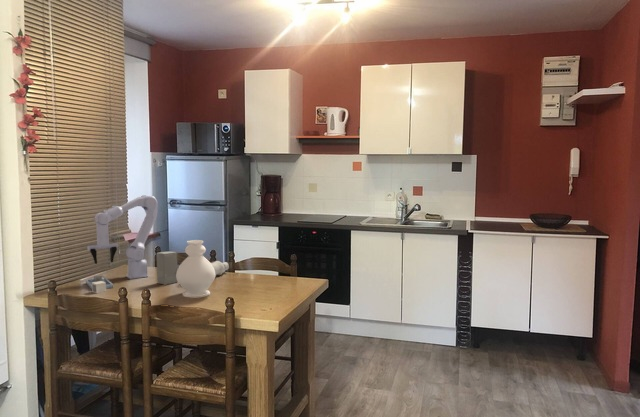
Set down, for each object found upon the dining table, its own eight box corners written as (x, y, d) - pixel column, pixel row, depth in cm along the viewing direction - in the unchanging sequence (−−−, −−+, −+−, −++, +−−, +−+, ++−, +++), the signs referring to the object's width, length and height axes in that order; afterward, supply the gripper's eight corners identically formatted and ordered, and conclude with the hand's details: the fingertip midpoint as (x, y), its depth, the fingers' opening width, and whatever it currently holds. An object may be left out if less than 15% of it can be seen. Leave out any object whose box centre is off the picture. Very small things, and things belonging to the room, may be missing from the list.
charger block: (101, 290, 247) (101, 280, 247) (106, 291, 245) (105, 282, 244) (91, 292, 244) (91, 282, 243) (96, 293, 241) (96, 284, 241)
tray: (85, 283, 260) (85, 279, 260) (105, 280, 265) (104, 277, 265) (92, 290, 246) (92, 286, 246) (113, 287, 251) (113, 284, 251)
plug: (92, 282, 259) (92, 275, 258) (101, 281, 261) (100, 274, 261) (97, 288, 249) (97, 279, 248) (106, 286, 251) (106, 278, 251)
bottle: (200, 279, 256) (234, 269, 283) (192, 263, 257) (227, 255, 284) (188, 287, 259) (223, 277, 286) (180, 271, 261) (216, 262, 288)
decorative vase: (197, 301, 228) (196, 245, 226) (168, 296, 237) (166, 242, 235) (223, 292, 244) (222, 240, 241) (195, 287, 253) (194, 237, 250)
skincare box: (164, 285, 256) (163, 254, 255) (156, 283, 261) (155, 252, 259) (178, 282, 263) (178, 251, 262) (170, 280, 267) (169, 250, 266)
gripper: (89, 238, 254) (90, 265, 255) (119, 236, 262) (120, 262, 263) (86, 236, 260) (87, 263, 261) (116, 234, 268) (117, 260, 269)
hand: (103, 262), depth 263 cm, fingers open, 7 cm apart
